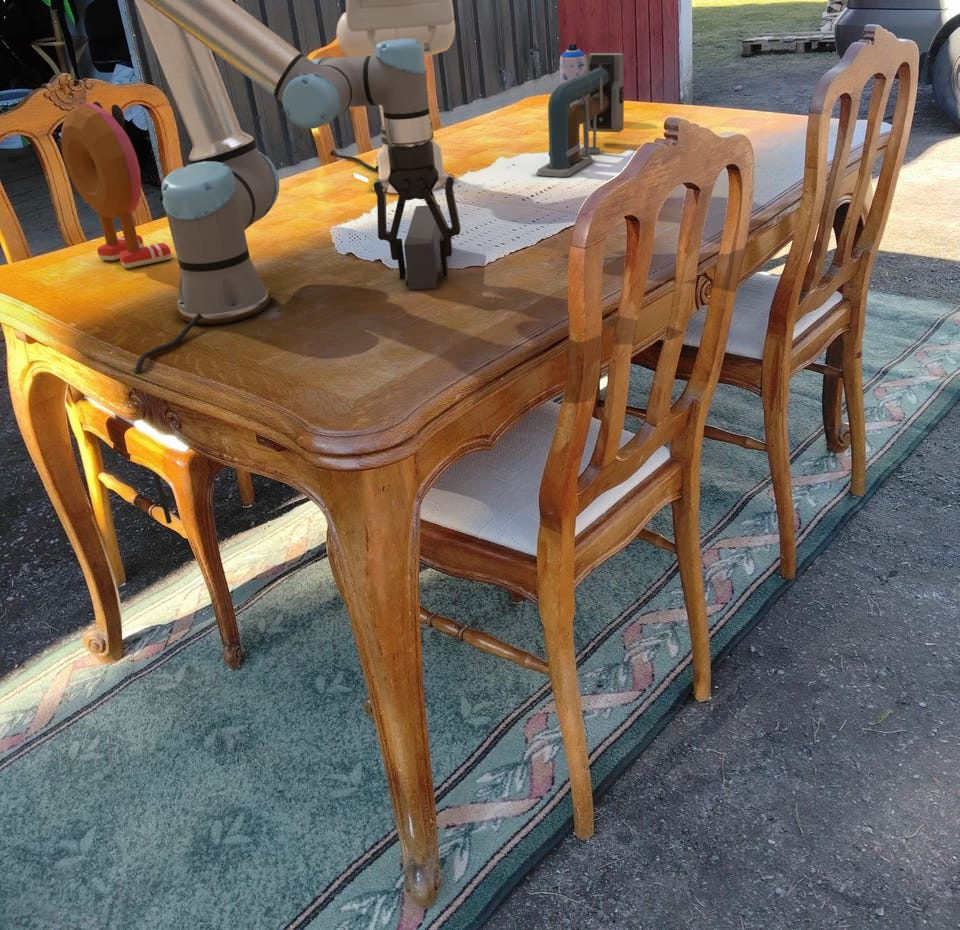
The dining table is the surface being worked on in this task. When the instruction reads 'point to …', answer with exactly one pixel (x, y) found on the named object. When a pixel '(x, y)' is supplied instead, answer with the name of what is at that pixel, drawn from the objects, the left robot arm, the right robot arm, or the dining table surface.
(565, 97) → the clamp
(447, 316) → the dining table surface
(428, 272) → the bar
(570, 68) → the aerosol can
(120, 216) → the toy
